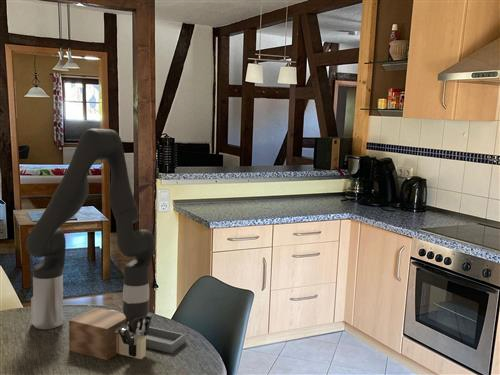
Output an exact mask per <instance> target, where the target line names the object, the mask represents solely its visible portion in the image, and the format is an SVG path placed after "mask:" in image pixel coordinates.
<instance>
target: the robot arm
mask: <svg viewBox="0 0 500 375" xmlns="http://www.w3.org/2000/svg"><path fill="white" fill-rule="evenodd" d="M96 161H106V162H107V165H108V167H109V171H110V185H109V192H108V198H109V199H108V200H109V205H110V208H111V211H112V214H113V216H114V219H115V223H116V229H115V230H116V241H117V242H116V243H117V247H118V249H119V251H120V253H121V254H123V256H124V257H127V258H132V259H131V261H128V263H126V264H125V265H124V270H123V288H122V313H123V314H124V315H125V316H126V321H125V326H124V328H123V329H121V328H120V329H119V333H120V336H121V338H122V341H123V343H124V344H128V345H129V355H130V356H133V357H132V358H134V357H135V356H136V342H137V337H138V335H140V336H146V335H147V333H148V329H149V326H150V325H151V322H152V318H153V317H152V316H151V315H148V314H149V313H150V286H149V285H150V284H149V278H150V277H149V273H150V272H149V271H150V267H151V266H150V265H151V262H152V259H153V255H154V250H155V245H156V243H155V242H156V241H155V237H154V235H153V234H152V232H151V231H150V230H148V229H138V230H134V224H135V223H137V222H138V221H139V220H140V218H141V215H140V211H139V209H138V205H137V203H136V200H135V197H134V195H133V191H132V187H131V183H130V178H129V174H128V173H129V172H128V167H127V162H126V156H125V151H124V146H123V142H122V138H121V136H120V135H119V133H118V132H117V131H116V130H114V129H110V128H88V129H87V130H85V131H84V132H83V133H82V135H81V136H80V138H79V141H78V143H77V145H76V147H75V150H74V153H73V156H72V158H71V161H70V163H69V165H68V167H67V169H66V171H65V173H64V175H63V177H62V179H61V180H60V182H59V184H58V185H57V187H56V189H55V191H54V193H53V194H52V197H51V199H50V201H49V203H48V205H47V206H46V208H45V210H44V211H43V213H42V214H41V216H40V217H39V219H38V221H37V222H36V223H35V225H34V226H33V228H31V230H30V231H29V233H28V236H27V239H26V244H25V246H26V251H27V253H28V254H29V255H30V256H31V257H34V258H43V257H44V258H43V259H42V260H41V261H40V262H39V263H38V264H36V265H35V266H34V267H33V269H32V285H33V286H32V293H33V296H32V297H30V307H31V308H30V312H31V313H30V314H31V315H30V316H31V317H30V318H31V325H32V326H33V327H34V328H35V329H38V330H51V329H54V328H57V327H60V326H62V325H63V323H64V282H63V281H64V280H63V279H64V277H63V276H64V275H63V274H64V268H65V264H66V246H67V245H66V242H67V241H66V237H65V236H66V235H65V233H64V231H63V229H62V228H61V227H62V226H64V225H65V223H67V222H68V221H69V220H71V219H72V218H73V217H74V216H76V214H77V213H78V212H80V210H81V208H82V207H83V205H84V203H85V202H86V201H87V198H88V196H89V193H90V185H89V179H88V175H89V171H90V170H91V168H92V166H93V165H94V163H95V162H96ZM150 327H151V326H150ZM131 332H132V333H131ZM131 337H133V340H132V339H131ZM130 356H129V357H130Z"/></svg>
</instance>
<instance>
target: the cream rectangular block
mask: <svg viewBox="0 0 500 375" xmlns="http://www.w3.org/2000/svg"><path fill="white" fill-rule="evenodd" d="M131 339H132V340H133V337H131ZM146 353H147V347H146V336H140V335H138V337H137V342H136V356H135V357H133V356H130V355H129V345H128V344H124V343H123V341H122V338H121V336H120V333H119V332H118V333H116V354H117V355H122V356H126V357H131V358H134V359H138V360H143V358H145V357H146Z"/></svg>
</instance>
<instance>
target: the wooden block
mask: <svg viewBox="0 0 500 375" xmlns="http://www.w3.org/2000/svg"><path fill="white" fill-rule="evenodd" d="M111 310H112V309H105V308H100V307H96V306H95V307H94V308H92V309H90V310H87V311H86V312H82V313H81V314H79V315H77V316H75V317H73V318H71V319H69V320H68V341H69V342H68V346H69V347H68V351H69V352H73V353H79V354H81V355H87V356H89V357H93V358H97V359H101V360H103V361H104V360H105V361H108V360H110V359H111V358H113V357H114V356H116V355H117V353H116V333H118V332H119V329H120V328H121V329H123V328H124V326H125V321H126V316H125V315H124V314H123V312H120V311H119V312H115V311H116V310H115V311H111ZM131 333H132V332H131Z"/></svg>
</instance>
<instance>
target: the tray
mask: <svg viewBox="0 0 500 375" xmlns="http://www.w3.org/2000/svg"><path fill="white" fill-rule="evenodd" d="M185 343H186V334H185V333H180V332H177V331H176V332H175V331H171V330H167V329H162V328H159V327H155V326H154V327H153V326H149V329H148V333H147V335H146V348H148V349H153V350H157V351H161V352H166V353H169V354H173V353H174V352H175V351H176V350H178V349H179V348H181V346H183V345H184V344H185Z"/></svg>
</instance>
